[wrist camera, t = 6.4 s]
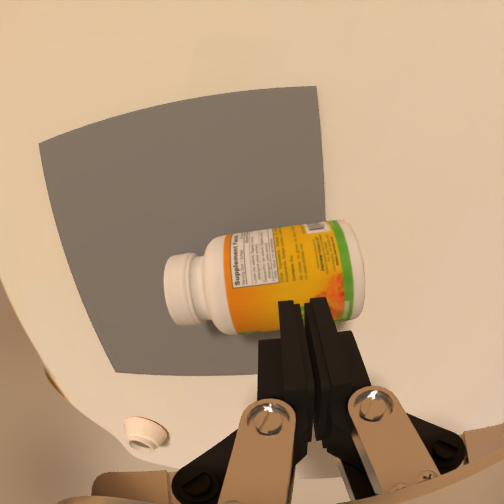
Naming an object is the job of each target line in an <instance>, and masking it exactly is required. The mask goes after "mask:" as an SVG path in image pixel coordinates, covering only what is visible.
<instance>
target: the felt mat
mask: <svg viewBox="0 0 504 504" xmlns="http://www.w3.org/2000/svg"><path fill="white" fill-rule="evenodd" d="M39 149H40V155H41V161H42V166H43V171H44V176H45V181H46V186H47V190H48V195H49V199H50V203H51V207H52V211H53V215H54V219H55V222H56V226H57V229H58V233H59V236H60V239H61V243H62V246H63V249H64V252H65V255H66V258H67V261H68V264H69V267H70V270H71V273H72V275H73V278H74V281H75V284H76V286H77V289H78V291H79V294H80V297H81V299H82V302H83V304H84V306H85V309H86V311H87V314H88V316H89V318H90V320H91V323H92V325H93V327H94V329H95V332H96V334H97V336H98V338H99V340H100V342H101V344H102V346H103V348H104V350H105V353H106V355H107V357H108V358H109V360H110V362H111V364H112V366H113V368H114V370H115V372H119V373H132V374H149V375H176V376H223V375H250V374H258V340H263V339H276V338H280V330H276V331H268V332H258V333H249V334H239V335H228V334H225V333H223V332H221V331H220V330H219V329H218V328H217V327H216V326H215V325H214V323H213V321H212V320H207V322H206V323H205V324H203V325H201V324H200V325H194V326H179V325H177V324H176V323H175V322H174V321H173V319H172V317H171V315H170V313H169V310H168V308H167V304H166V299H165V294H164V270H165V266H166V263H167V260H168V259H169V258H170V257H171V256H174V255H180V254H186V253H197V254H198V255H199V256H204V254H205V250H206V248H207V246H208V244H209V243H210V242H211V241H212V240H213V239H214V238H216V237H219V236H224V235H229V234H236V233H243V232H250V231H258V230H265V229H272V228H279V227H286V226H294V225H301V224H309V223H316V222H324V221H325V194H324V173H323V157H322V142H321V130H320V118H319V108H318V98H317V89H316V86H306V87H285V88H271V89H259V90H249V91H240V92H232V93H225V94H218V95H211V96H205V97H199V98H193V99H188V100H182V101H177V102H172V103H168V104H163V105H159V106H154V107H150V108H146V109H142V110H138V111H134V112H130V113H126V114H123V115H119V116H116V117H112V118H109V119H106V120H102V121H99V122H96V123H93V124H90V125H87V126H84V127H81V128H78V129H75V130H72V131H69V132H67V133H64V134H61V135H59V136H56V137H54V138H51V139H48V140H46V141H44V142H41V143H39Z"/></svg>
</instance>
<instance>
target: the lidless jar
mask: <svg viewBox="0 0 504 504" xmlns="http://www.w3.org/2000/svg"><path fill="white" fill-rule="evenodd" d="M124 429H125V435H126V437H127V443H128V445H129V446H130V447H132V448H133V449H135V450H137V451H140V452H143V453H152V452H153V451H154V450H155V449H156V448H158V447H159V446H160V445H161V444H162V443H163V442H164V441H165V440H166V438H167V433H166V431H165V430H164V429H163V428H162V427H161V426H160V425H158V424H156V423H155V422H153V421H150V420H148V419H145V418H140V417H129V418H127V419H125V422H124Z"/></svg>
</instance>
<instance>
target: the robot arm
mask: <svg viewBox="0 0 504 504" xmlns="http://www.w3.org/2000/svg"><path fill="white" fill-rule="evenodd" d="M278 311H279V324H280V338H276V339H263V340H258V391H257V401H256V402H254V403H252V404H251V405H249V406H248V407H247V408H246V409H245V410H244V412H243V414H242V416H241V419H240V423H239V427H238V429H237V430H236V431H234V432H233V433H232V434H230V435H229V436H228V437H226V438H225V439H223V440H222V441H221V442H219V443H218V444H217V445H215V446H214V447H212V448H211V449H209V450H208V451H207V452H205V453H204V454H202V455H201V456H199V457H198V458H196V459H195V460H193V461H192V462H190V463H189V464H187V465H186V466H184V467H183V468H181V469H180V470H179V471H178V472H167V471H166V470H162V471H143V472H108V473H103V474H101V475H99V476H98V477H97V478H96V479H95V481H94V482H93V485H92V494H91V496H80V497H72V498H67V499H63V500H61V501H58V502H56V503H55V504H291V500H292V492H293V484H294V477H295V469H296V464H297V463H298V462H299V461H300V460H302V459H303V458H304V457H305V456H306V455H307V444H308V442H311V438H312V426H313V423H314V430H315V438H316V441H319V440H322V445H323V448H327V452H328V453H330V454H332V455H334V456H335V457H336V460H337V464H338V467H339V469H340V472H341V475H342V478H343V481H344V483H345V486H346V489H347V492H348V494H349V497H350V500H351V501H350V502H344V503H338V504H504V424H500V425H495V426H491V427H486V428H481V429H476V430H470V431H464V432H463V434H461V435H457V434H455V433H454V432H451V431H449V430H446V429H444V428H441V427H439V426H436V425H434V424H431V423H429V422H426V421H424V420H422V419H419V418H417V417H415V416H412V415H410V414H408V413H406V412H405V411H404V409H403V407H402V406H401V404H400V402H399V401H398V399H397V397H396V396H395V395H394V394H393V393H392V392H391V391H389V390H388V389H386V388H383V387H380V386H371V383H370V380H369V377H368V374H367V371H366V369H365V366H364V363H363V360H362V357H361V355H360V352H359V349H358V347H357V344H356V341H355V338H354V336H353V333H352V332H351V331H342V332H337V329H336V326H335V323H334V320H333V317H332V314H331V311H330V308H329V305H328V302H327V299H326V297H317V298H310V302H309V303H304V323H303V318H302V312H301V307H300V303H299V304H294V301H293V300H286V301H278Z"/></svg>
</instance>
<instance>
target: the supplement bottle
mask: <svg viewBox="0 0 504 504" xmlns="http://www.w3.org/2000/svg"><path fill="white" fill-rule="evenodd" d="M164 294H165V299H166V304H167V308H168V310H169V313H170V315H171V317H172V319H173V321H174V322H175V323H176V324H177V325H179V326H194V325H200V324H201V325H203V324H205V323H206V322H207V320H212V321H213V323H214V325H215V326H216V327H217V328H218V329H219V330H220V331H221V332H223V333H225V334H228V335H239V334H249V333H258V332H268V331H276V330H280V324H279V311H278V301H286V300H293V301H294V304H299V303H300V307H301V312H302V318H303V323H304V303H309V302H310V298H317V297H326V299H327V302H328V305H329V308H330V311H331V314H332V317H333V320H334V323H335V322H341V321H347V320H352V319H355V318H357V317H358V316H359V315H360V314H361V312H362V309H363V305H364V297H365V272H364V264H363V258H362V254H361V250H360V246H359V243H358V240H357V238H356V235H355V233H354V231H353V229H352V227H351V226H350V225H349V223H348V222H346V221H344V220H335V221H324V222H316V223H309V224H301V225H294V226H286V227H279V228H272V229H265V230H258V231H250V232H243V233H236V234H229V235H224V236H219V237H216V238H214V239H213V240H212V241H211V242H210V243H209V244H208V246H207V248H206V250H205V254H204V256H199V255H198V254H197V253H186V254H180V255H174V256H171V257H170V258H169V259H168V260H167V263H166V266H165V270H164Z"/></svg>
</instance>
